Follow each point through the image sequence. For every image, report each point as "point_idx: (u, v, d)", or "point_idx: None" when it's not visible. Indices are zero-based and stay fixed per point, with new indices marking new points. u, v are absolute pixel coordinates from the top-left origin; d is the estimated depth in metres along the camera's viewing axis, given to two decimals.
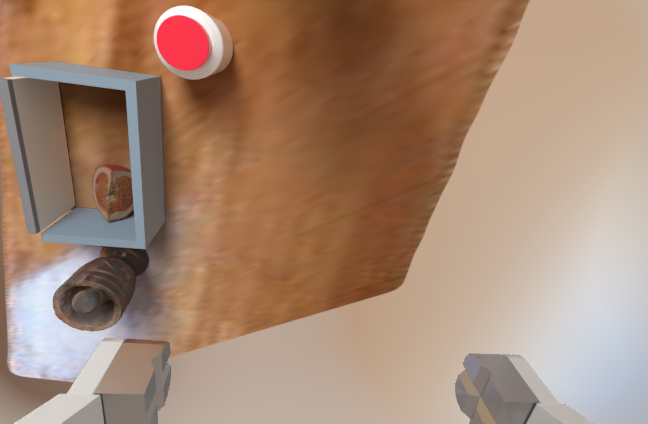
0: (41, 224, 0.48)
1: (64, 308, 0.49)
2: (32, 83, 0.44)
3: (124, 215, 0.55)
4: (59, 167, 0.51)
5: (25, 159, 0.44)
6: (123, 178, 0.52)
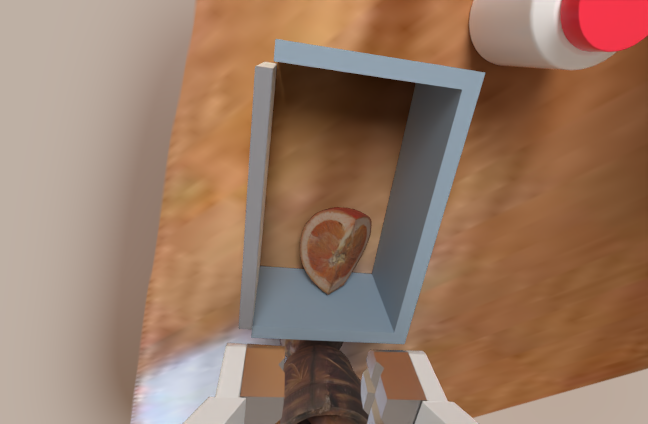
0: (253, 311, 0.29)
1: None
2: None
3: (344, 281, 0.35)
4: None
5: (261, 211, 0.25)
6: (360, 228, 0.33)
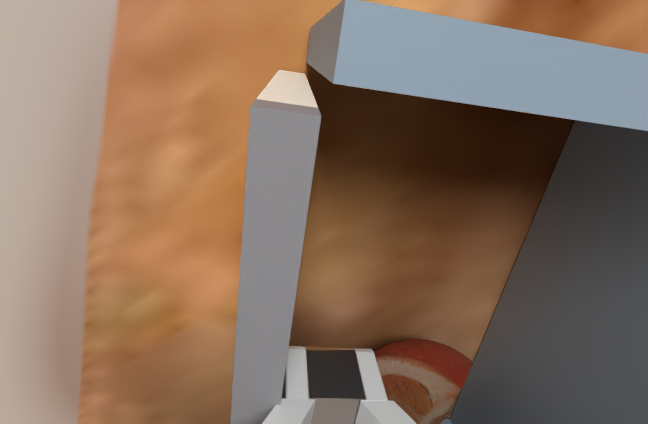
0: None
1: None
2: None
3: None
4: None
5: None
6: None
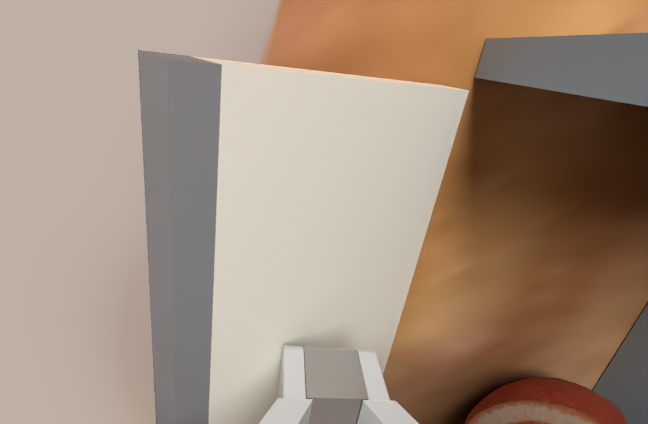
0: None
1: None
2: (359, 113, 0.08)
3: None
4: None
5: None
6: None
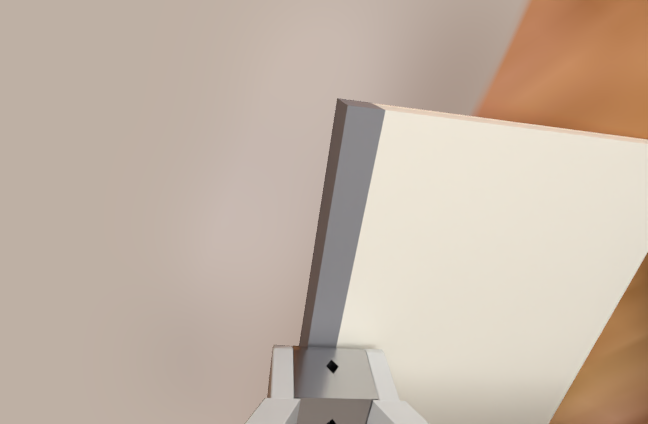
0: None
1: None
2: (518, 159, 0.08)
3: None
4: None
5: None
6: None
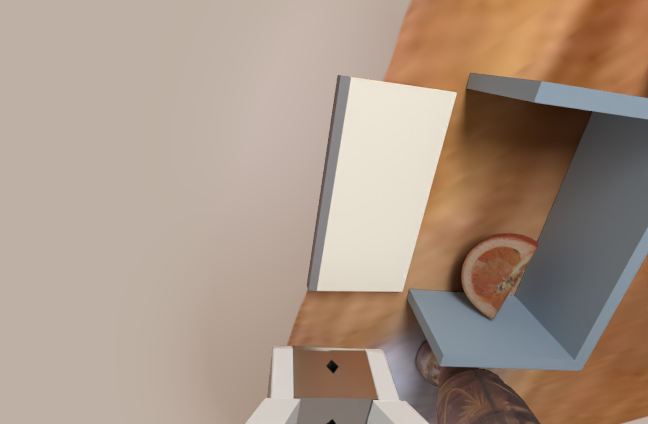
0: (322, 284, 0.34)
1: None
2: (392, 93, 0.28)
3: (501, 305, 0.36)
4: (393, 228, 0.33)
5: (329, 193, 0.30)
6: None
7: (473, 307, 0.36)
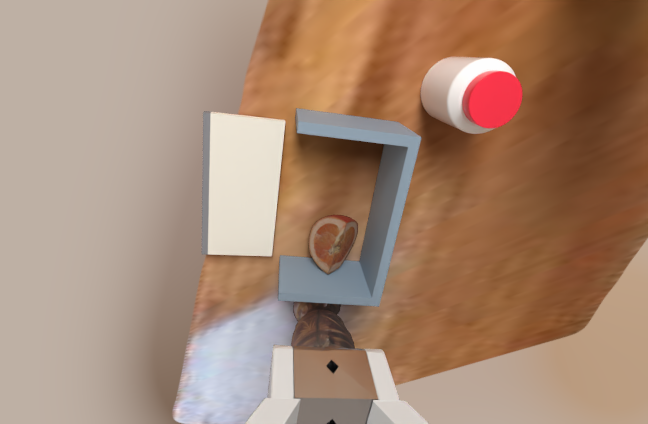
0: (211, 249, 0.50)
1: None
2: (240, 122, 0.43)
3: (339, 265, 0.51)
4: (256, 211, 0.49)
5: (206, 186, 0.46)
6: (350, 229, 0.48)
7: None
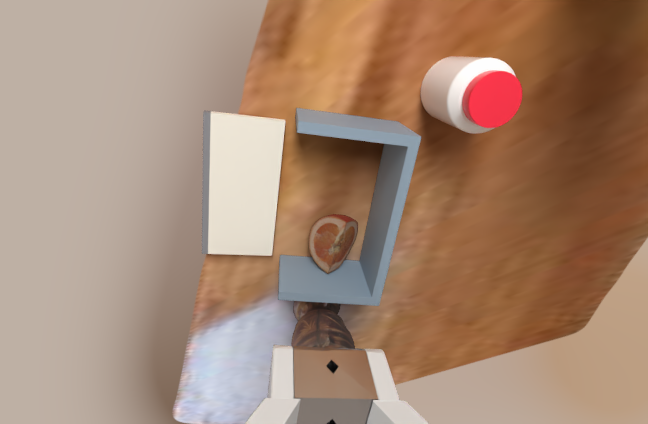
0: (211, 249, 0.50)
1: None
2: (240, 122, 0.43)
3: (339, 265, 0.51)
4: (257, 210, 0.49)
5: (207, 186, 0.46)
6: (349, 229, 0.48)
7: None
